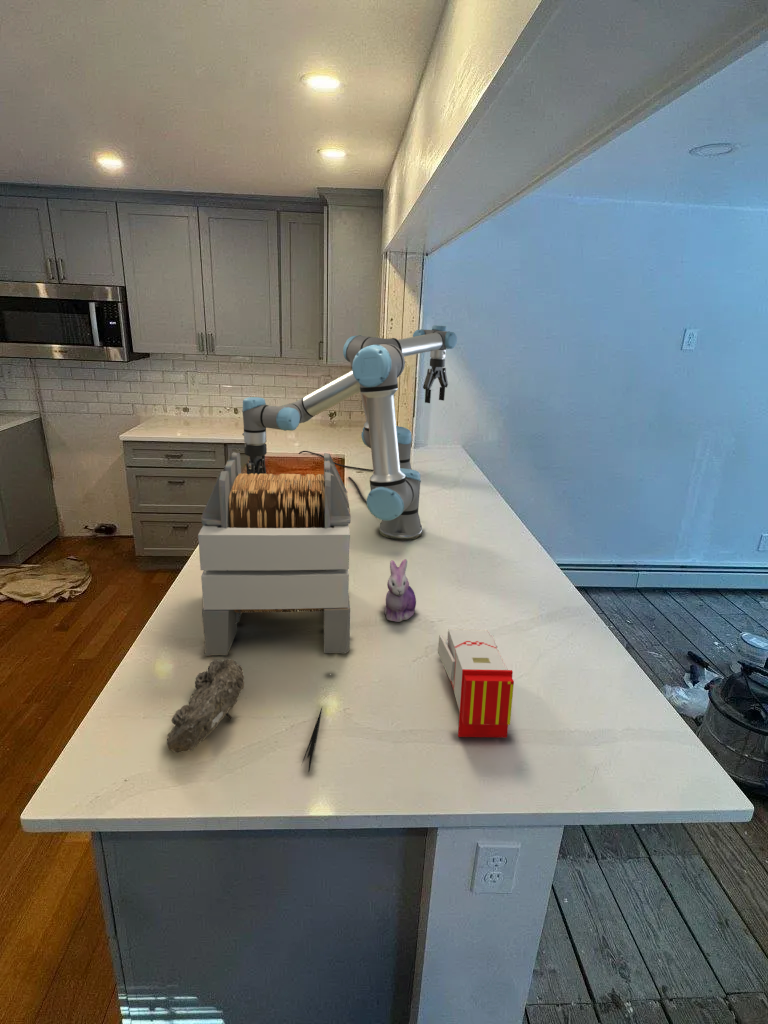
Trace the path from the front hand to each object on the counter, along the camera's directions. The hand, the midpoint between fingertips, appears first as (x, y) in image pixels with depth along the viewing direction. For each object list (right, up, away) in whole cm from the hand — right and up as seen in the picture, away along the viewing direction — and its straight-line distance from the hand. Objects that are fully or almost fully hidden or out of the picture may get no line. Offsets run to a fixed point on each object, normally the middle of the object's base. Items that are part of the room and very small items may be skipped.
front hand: (257, 504), depth 203 cm
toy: (+63, -40, -84) cm, 113 cm away
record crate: (+20, -29, -60) cm, 69 cm away
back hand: (+71, +54, +85) cm, 123 cm away
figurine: (+49, -29, -55) cm, 80 cm away
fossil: (+13, -42, -95) cm, 104 cm away
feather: (+33, -42, -94) cm, 109 cm away
